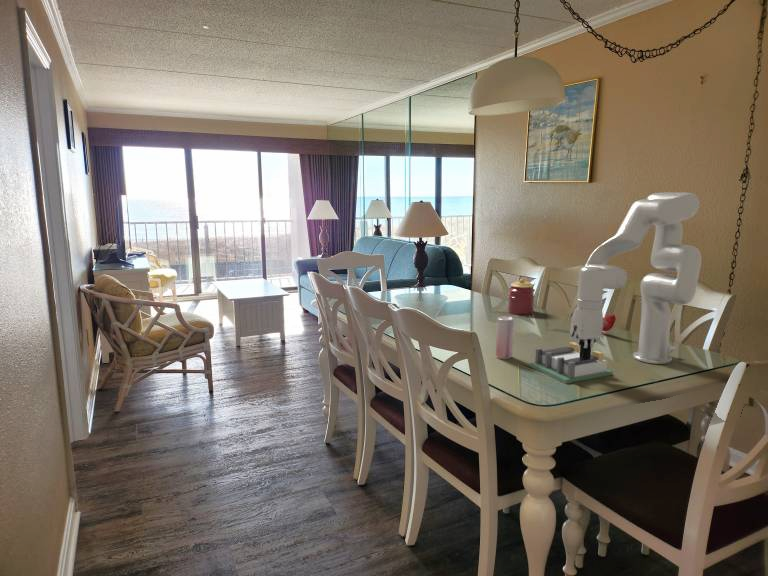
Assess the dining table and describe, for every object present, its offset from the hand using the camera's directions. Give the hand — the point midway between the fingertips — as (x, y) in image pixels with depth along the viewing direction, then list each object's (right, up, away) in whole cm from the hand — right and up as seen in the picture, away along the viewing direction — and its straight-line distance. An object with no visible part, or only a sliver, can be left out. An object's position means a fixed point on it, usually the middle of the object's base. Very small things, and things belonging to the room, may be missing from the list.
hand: (584, 358), depth 171 cm
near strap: (-2, -1, 0) cm, 2 cm away
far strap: (-6, +1, +10) cm, 11 cm away
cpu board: (-3, -5, +6) cm, 8 cm away
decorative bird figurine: (+27, +4, +51) cm, 58 cm away
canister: (+3, +11, +92) cm, 93 cm away
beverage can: (-22, -3, +21) cm, 31 cm away
